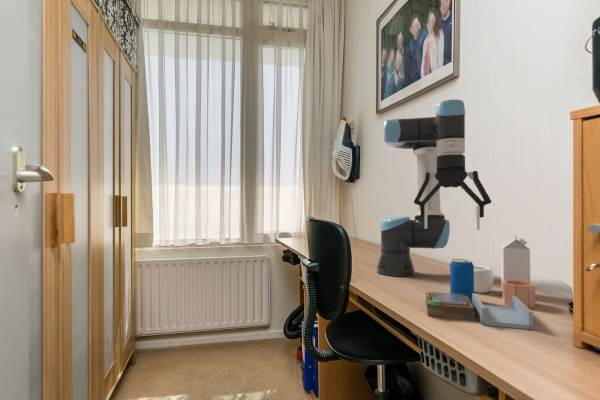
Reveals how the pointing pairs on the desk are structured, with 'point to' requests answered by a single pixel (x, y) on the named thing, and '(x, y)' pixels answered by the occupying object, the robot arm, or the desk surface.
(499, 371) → the desk surface
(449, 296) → the grey flat square plate
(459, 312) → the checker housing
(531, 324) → the trough
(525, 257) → the milk carton
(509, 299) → the cup
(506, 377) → the desk surface
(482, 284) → the mug
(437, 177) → the robot arm
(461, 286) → the beverage can
